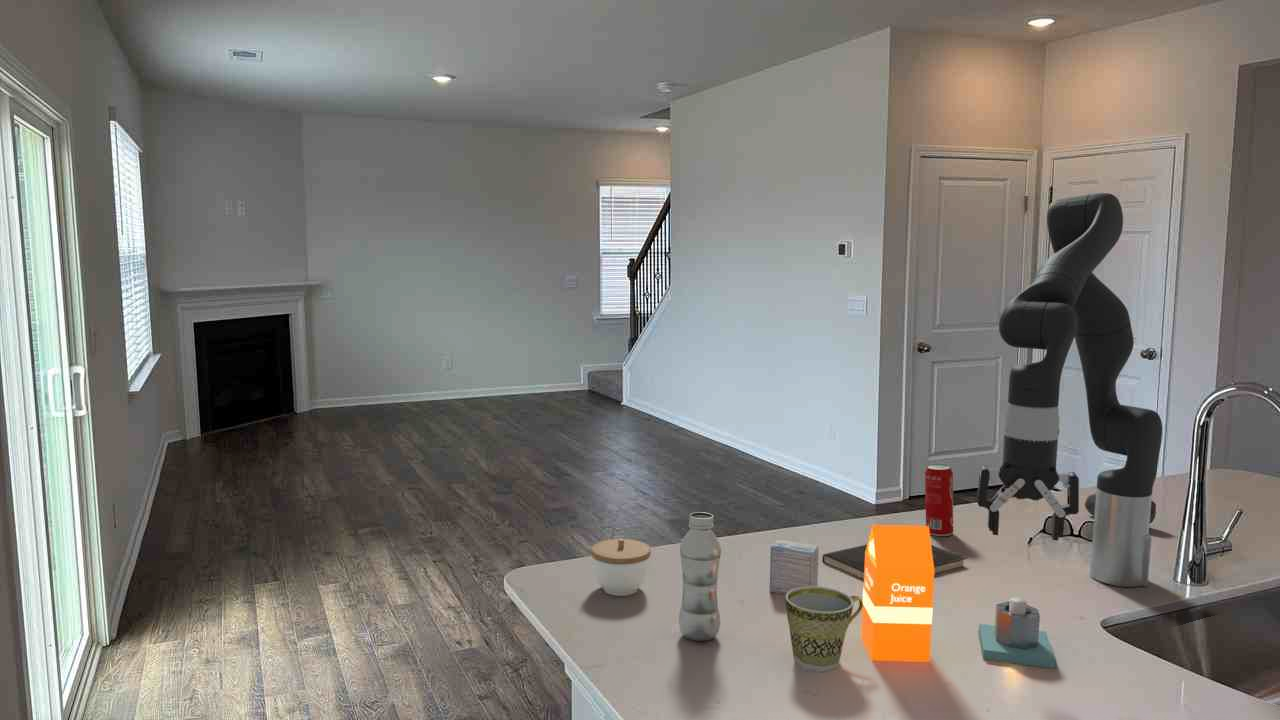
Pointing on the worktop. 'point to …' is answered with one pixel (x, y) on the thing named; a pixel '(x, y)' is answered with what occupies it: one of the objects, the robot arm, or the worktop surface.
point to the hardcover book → (855, 559)
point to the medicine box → (793, 566)
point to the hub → (1017, 627)
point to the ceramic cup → (819, 625)
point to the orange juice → (898, 593)
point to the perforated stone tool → (1092, 499)
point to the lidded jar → (620, 565)
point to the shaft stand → (1000, 652)
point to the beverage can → (939, 499)
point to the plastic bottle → (700, 579)
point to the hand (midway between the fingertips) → (1024, 536)
